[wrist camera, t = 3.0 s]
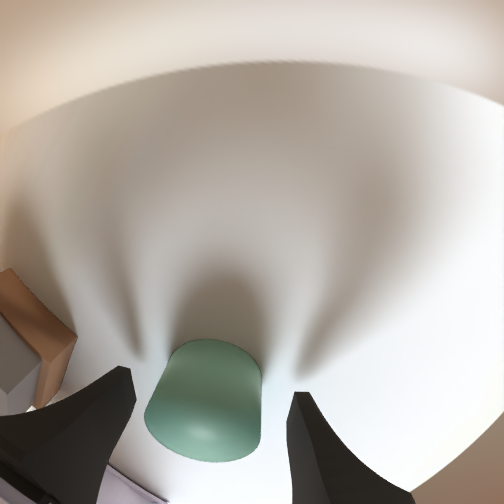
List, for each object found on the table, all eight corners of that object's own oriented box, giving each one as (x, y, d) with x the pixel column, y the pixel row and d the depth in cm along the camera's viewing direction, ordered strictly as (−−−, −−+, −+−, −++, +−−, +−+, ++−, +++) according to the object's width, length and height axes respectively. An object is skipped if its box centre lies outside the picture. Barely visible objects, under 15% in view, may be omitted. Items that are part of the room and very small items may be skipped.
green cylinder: (279, 389, 12) (282, 446, 9) (206, 417, 13) (194, 468, 10) (225, 322, 11) (211, 376, 8) (150, 360, 12) (122, 409, 9)
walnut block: (80, 334, 12) (50, 363, 9) (61, 386, 14) (39, 412, 11) (13, 266, 12) (-21, 282, 9) (4, 329, 13) (-21, 347, 10)
